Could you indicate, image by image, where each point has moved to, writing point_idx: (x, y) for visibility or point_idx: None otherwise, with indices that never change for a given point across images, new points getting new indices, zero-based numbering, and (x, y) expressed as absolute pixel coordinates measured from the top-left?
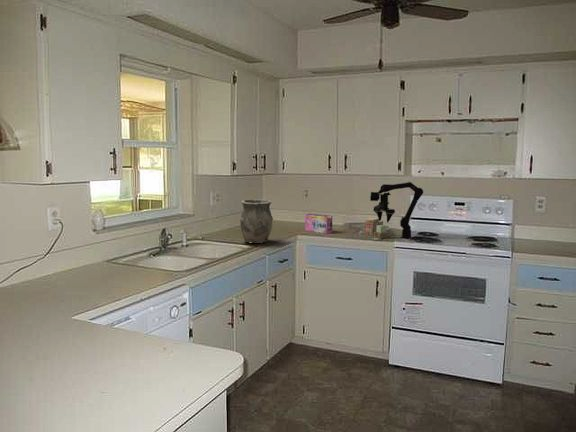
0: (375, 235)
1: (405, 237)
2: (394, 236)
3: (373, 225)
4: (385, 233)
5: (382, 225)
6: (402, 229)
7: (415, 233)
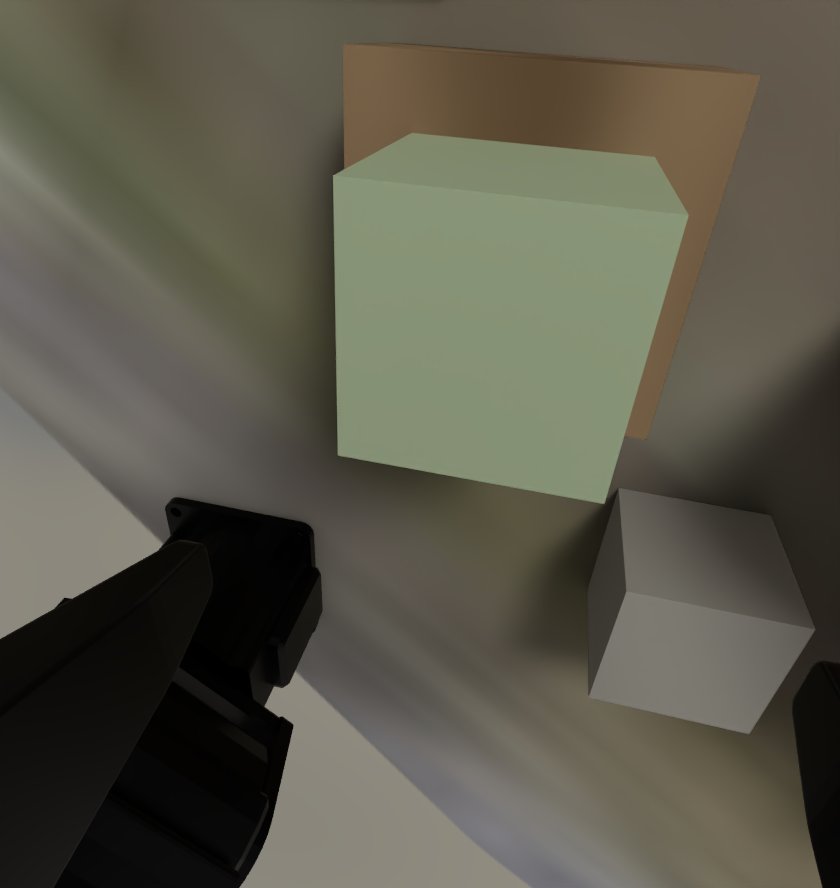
0: (622, 61)
1: (201, 527)
2: (455, 534)
3: None
4: None
5: (498, 433)
6: (240, 663)
7: (477, 843)
